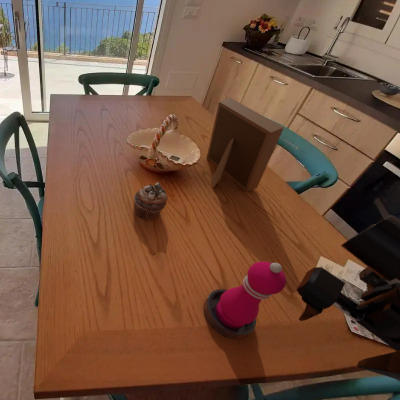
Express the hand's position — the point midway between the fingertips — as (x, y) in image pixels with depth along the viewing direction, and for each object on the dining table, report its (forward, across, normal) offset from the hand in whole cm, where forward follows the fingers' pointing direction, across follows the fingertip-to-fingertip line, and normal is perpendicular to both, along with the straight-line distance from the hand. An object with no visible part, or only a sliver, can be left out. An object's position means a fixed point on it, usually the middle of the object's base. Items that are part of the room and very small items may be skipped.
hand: (328, 340), depth 45 cm
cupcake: (+18, +44, -12) cm, 49 cm away
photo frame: (+18, +39, -49) cm, 65 cm away
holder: (+14, +11, 0) cm, 18 cm away
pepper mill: (+14, +11, 0) cm, 17 cm away
